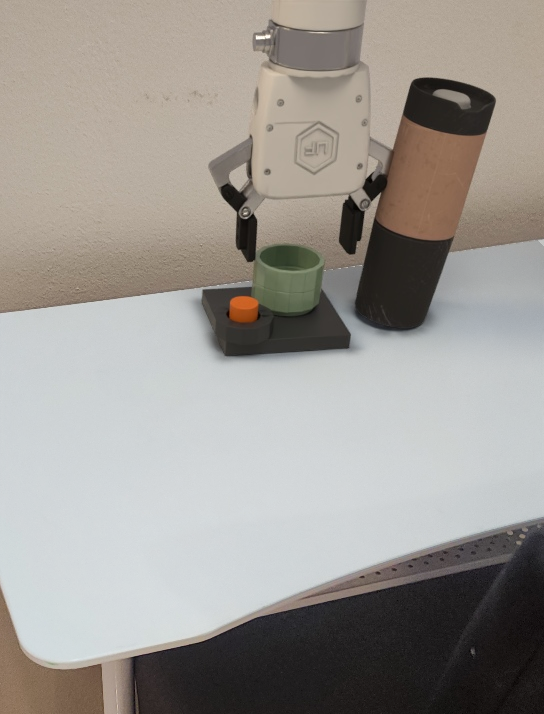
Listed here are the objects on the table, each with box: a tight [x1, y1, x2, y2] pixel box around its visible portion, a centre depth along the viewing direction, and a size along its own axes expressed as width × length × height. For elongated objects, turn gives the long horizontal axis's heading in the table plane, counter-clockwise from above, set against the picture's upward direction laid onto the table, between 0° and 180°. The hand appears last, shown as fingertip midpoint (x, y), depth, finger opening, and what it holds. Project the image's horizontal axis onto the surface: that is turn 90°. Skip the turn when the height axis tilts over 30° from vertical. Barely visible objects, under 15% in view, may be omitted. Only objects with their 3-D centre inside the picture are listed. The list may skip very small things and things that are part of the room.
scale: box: [201, 286, 352, 357], centre depth 96 cm, size 13×12×3 cm
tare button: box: [229, 296, 259, 323], centre depth 91 cm, size 3×3×2 cm
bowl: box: [251, 242, 326, 316], centre depth 96 cm, size 7×7×4 cm
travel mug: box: [354, 76, 497, 329], centre depth 92 cm, size 8×8×20 cm
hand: (297, 252), depth 94 cm, fingers open, 9 cm apart
